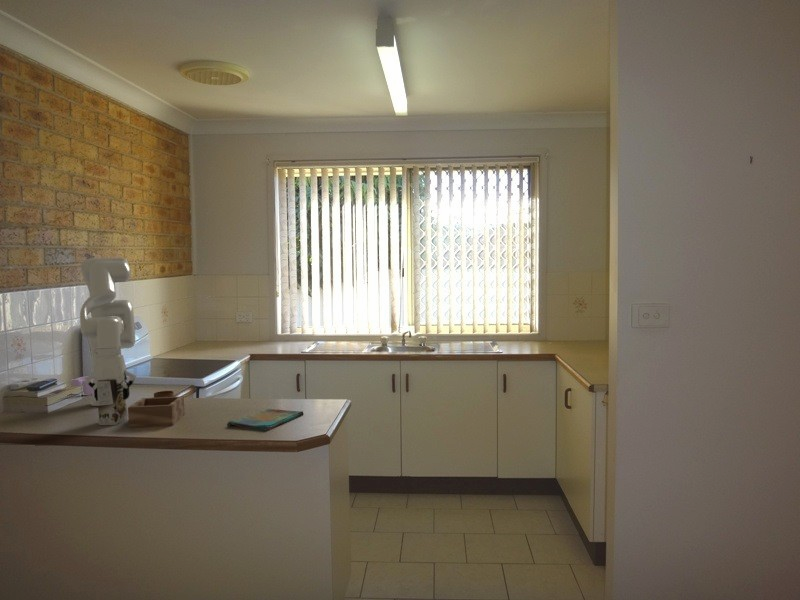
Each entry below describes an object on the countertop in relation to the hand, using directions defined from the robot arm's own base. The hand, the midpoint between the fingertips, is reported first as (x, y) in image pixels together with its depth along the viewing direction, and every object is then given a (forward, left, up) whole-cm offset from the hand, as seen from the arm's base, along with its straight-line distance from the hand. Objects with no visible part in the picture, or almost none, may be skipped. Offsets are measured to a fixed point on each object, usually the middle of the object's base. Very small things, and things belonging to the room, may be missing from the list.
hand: (112, 399), depth 223 cm
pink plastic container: (-60, -30, -9) cm, 67 cm away
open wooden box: (+1, +16, -8) cm, 18 cm away
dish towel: (+8, +56, -9) cm, 57 cm away
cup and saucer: (-20, +12, -9) cm, 25 cm away
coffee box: (0, 0, -9) cm, 9 cm away
